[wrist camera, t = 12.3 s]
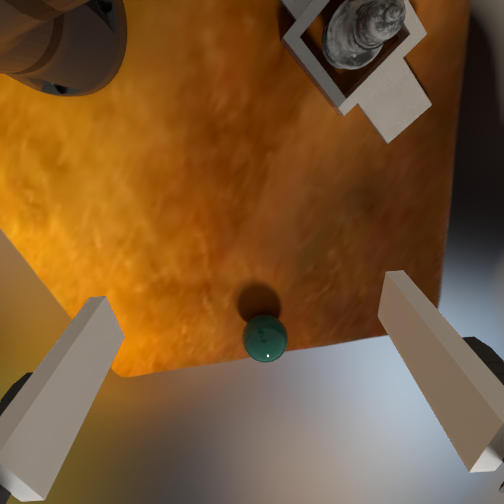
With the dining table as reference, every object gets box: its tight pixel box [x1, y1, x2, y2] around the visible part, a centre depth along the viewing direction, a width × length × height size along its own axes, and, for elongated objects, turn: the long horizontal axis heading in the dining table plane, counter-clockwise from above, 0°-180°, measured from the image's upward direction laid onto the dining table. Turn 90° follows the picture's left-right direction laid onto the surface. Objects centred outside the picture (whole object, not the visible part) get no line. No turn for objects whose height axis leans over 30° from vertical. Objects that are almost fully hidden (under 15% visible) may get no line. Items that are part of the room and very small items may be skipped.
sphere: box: [242, 314, 288, 363], centre depth 48 cm, size 8×8×8 cm
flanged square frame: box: [279, 0, 432, 143], centre depth 29 cm, size 24×10×2 cm, turn 46°
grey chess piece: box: [322, 0, 406, 70], centre depth 25 cm, size 6×6×12 cm
